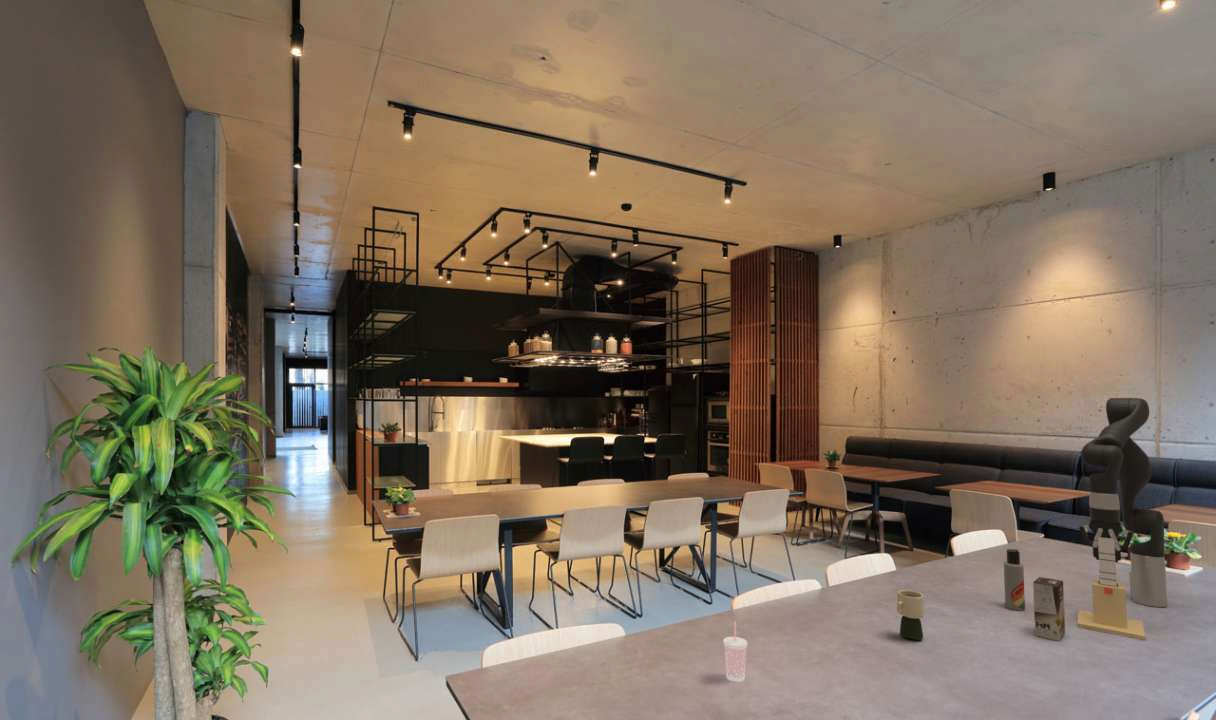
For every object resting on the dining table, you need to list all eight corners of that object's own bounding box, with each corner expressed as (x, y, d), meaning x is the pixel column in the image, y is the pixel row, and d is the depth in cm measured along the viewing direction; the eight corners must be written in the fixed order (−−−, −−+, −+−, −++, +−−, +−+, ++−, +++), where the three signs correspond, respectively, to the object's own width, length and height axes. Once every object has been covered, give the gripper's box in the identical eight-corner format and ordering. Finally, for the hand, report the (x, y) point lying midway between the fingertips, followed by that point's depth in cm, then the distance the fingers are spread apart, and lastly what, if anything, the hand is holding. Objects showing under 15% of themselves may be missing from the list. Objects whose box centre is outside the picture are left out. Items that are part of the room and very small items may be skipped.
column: (1100, 597, 193) (1097, 534, 195) (1117, 600, 191) (1114, 536, 192) (1100, 600, 190) (1097, 536, 192) (1117, 603, 188) (1114, 538, 189)
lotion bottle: (1028, 611, 202) (1026, 552, 204) (1009, 610, 204) (1007, 551, 205) (1020, 606, 208) (1018, 548, 209) (1002, 604, 209) (1000, 547, 211)
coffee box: (1060, 641, 177) (1058, 586, 178) (1034, 635, 181) (1032, 582, 183) (1065, 633, 183) (1063, 580, 184) (1040, 628, 188) (1038, 576, 189)
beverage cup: (720, 672, 154) (720, 617, 155) (743, 671, 155) (743, 616, 156) (727, 683, 148) (727, 626, 149) (750, 682, 149) (750, 625, 150)
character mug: (913, 630, 184) (912, 588, 185) (934, 639, 178) (933, 594, 179) (888, 636, 180) (887, 592, 181) (908, 645, 173) (907, 599, 174)
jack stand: (1079, 613, 201) (1077, 573, 202) (1142, 625, 191) (1140, 583, 192) (1077, 627, 189) (1075, 584, 190) (1145, 640, 179) (1143, 595, 180)
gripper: (1133, 507, 191) (1136, 562, 190) (1076, 502, 200) (1079, 554, 199) (1134, 511, 185) (1137, 567, 184) (1076, 505, 194) (1078, 558, 193)
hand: (1107, 560), depth 191 cm, fingers closed on column, 4 cm apart
